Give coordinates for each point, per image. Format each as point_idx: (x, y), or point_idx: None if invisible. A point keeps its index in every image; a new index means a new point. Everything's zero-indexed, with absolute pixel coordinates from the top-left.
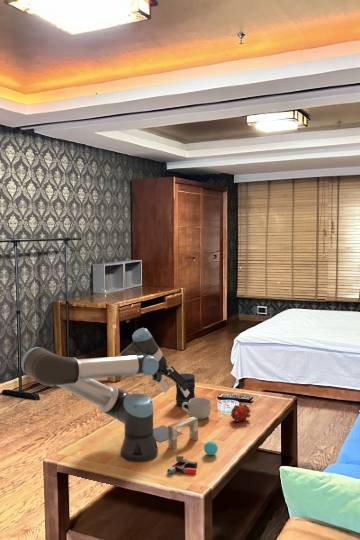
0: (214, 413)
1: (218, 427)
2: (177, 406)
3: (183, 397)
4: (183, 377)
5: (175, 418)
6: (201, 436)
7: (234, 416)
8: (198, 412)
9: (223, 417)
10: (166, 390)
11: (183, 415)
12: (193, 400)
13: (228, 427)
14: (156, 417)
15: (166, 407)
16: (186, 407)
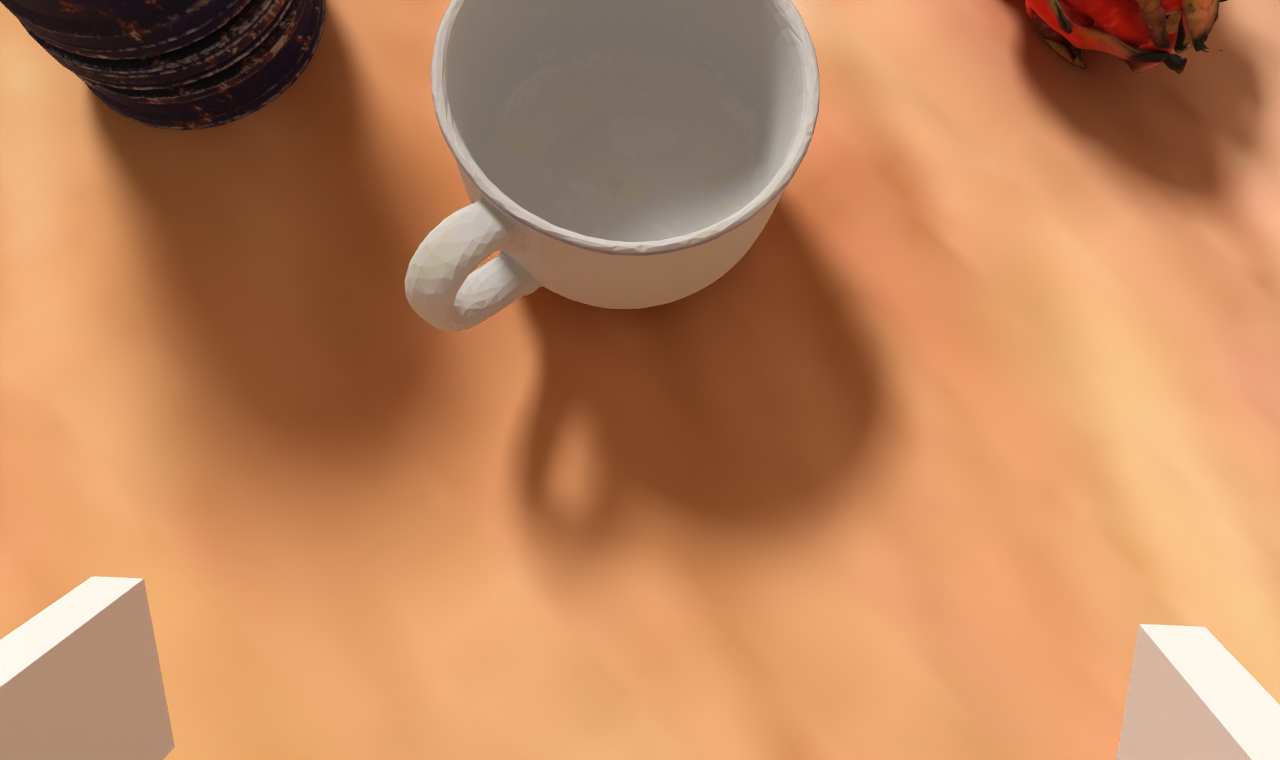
0: None
1: (1053, 304)
2: (147, 124)
3: (173, 12)
4: None
5: (400, 447)
6: None
7: (1145, 31)
8: (723, 263)
9: (858, 35)
10: (135, 723)
11: None
12: (458, 63)
13: (1138, 225)
14: None
15: (36, 237)
16: (279, 86)
